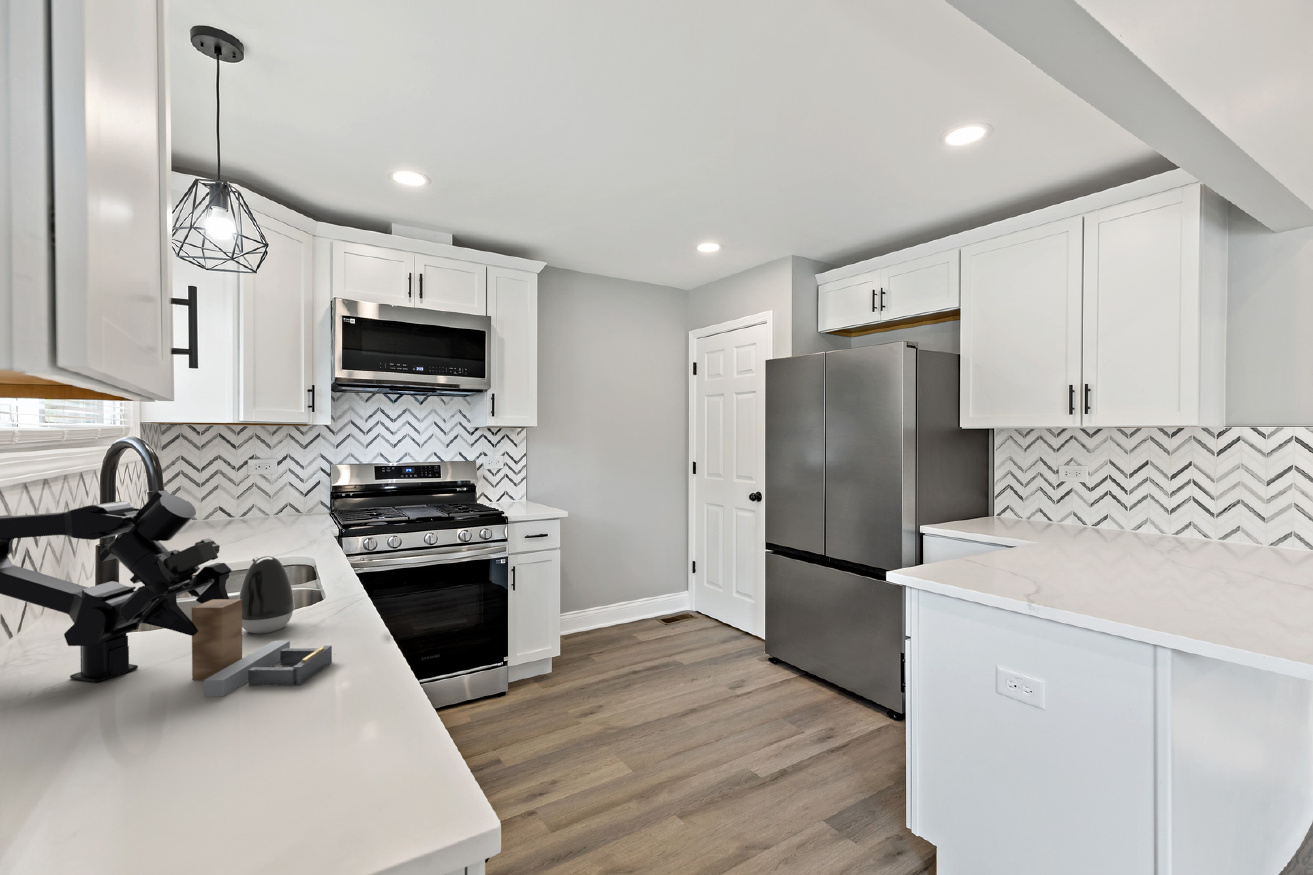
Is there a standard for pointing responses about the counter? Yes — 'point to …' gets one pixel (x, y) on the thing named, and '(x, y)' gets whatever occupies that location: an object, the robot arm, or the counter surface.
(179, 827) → the counter surface
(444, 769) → the counter surface
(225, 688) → the door edge
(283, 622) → the dark grey egg shape
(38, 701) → the counter surface
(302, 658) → the keeper
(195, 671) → the block
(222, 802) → the counter surface
